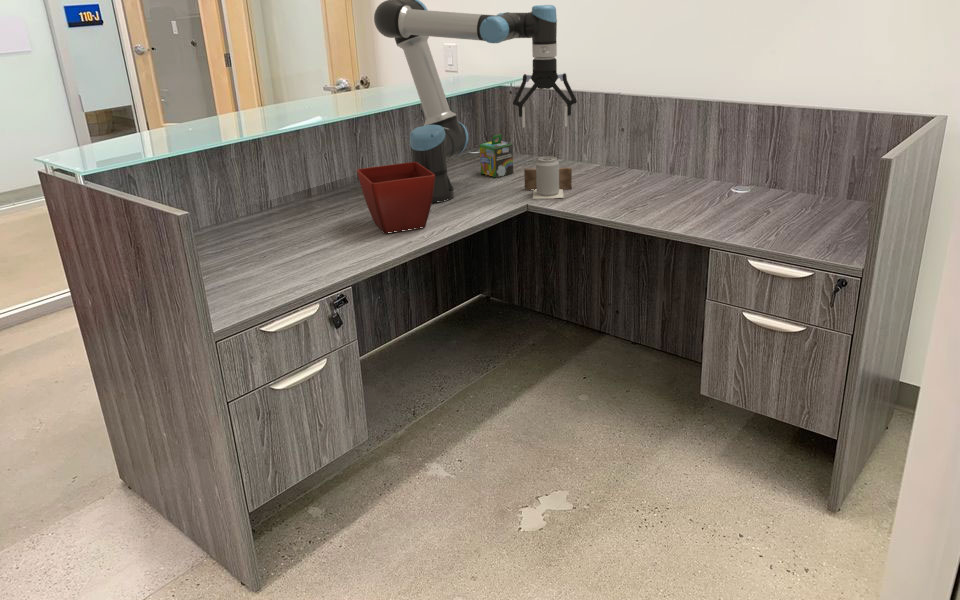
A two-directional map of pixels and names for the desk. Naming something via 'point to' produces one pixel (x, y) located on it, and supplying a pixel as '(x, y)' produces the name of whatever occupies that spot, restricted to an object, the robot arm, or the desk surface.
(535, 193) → the pad
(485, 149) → the chalk box
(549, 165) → the can
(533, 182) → the walnut plank
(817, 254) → the desk surface
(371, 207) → the plant pot
